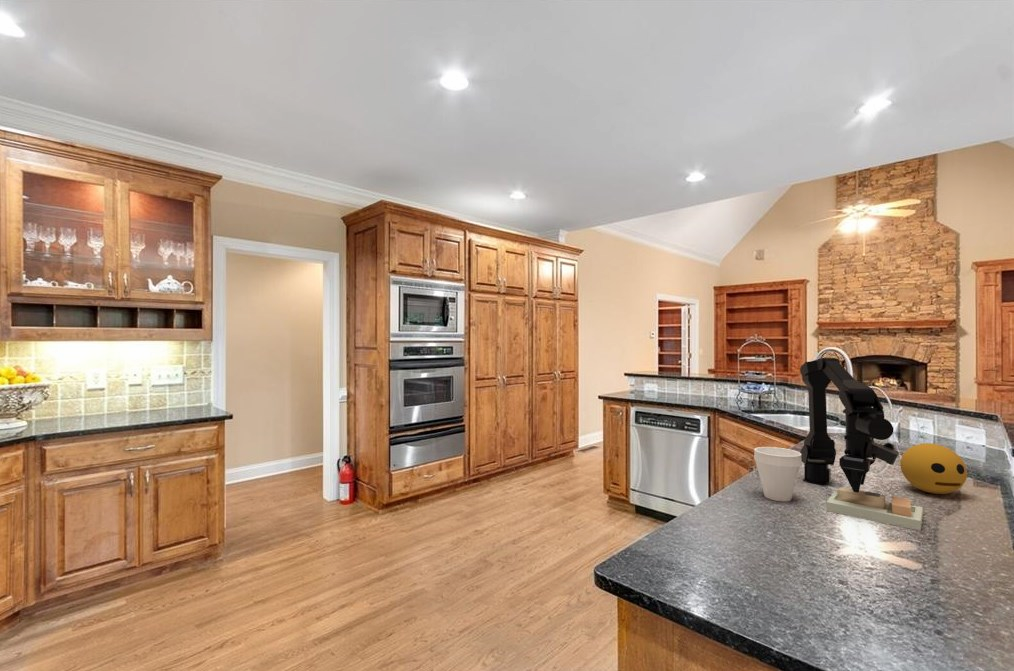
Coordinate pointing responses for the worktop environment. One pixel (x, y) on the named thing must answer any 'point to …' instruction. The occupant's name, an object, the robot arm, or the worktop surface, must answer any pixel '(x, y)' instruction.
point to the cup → (777, 471)
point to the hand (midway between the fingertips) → (858, 488)
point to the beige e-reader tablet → (861, 498)
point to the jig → (877, 513)
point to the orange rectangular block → (901, 506)
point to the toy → (933, 468)
